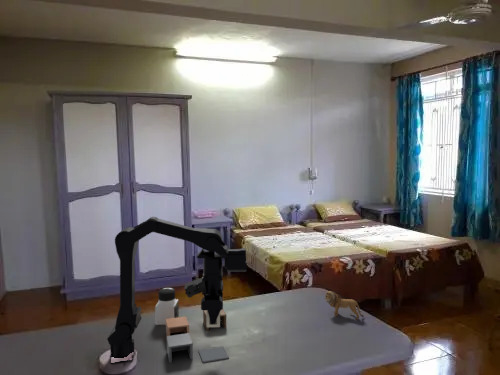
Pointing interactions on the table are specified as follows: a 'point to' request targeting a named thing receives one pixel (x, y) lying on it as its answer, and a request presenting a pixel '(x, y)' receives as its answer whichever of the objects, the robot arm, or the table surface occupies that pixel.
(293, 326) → the table surface
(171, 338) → the grey box
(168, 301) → the medicine bottle
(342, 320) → the table surface
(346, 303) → the lion figurine
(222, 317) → the box
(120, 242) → the robot arm
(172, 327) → the terracotta block
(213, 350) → the slate pad
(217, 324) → the cream cube
